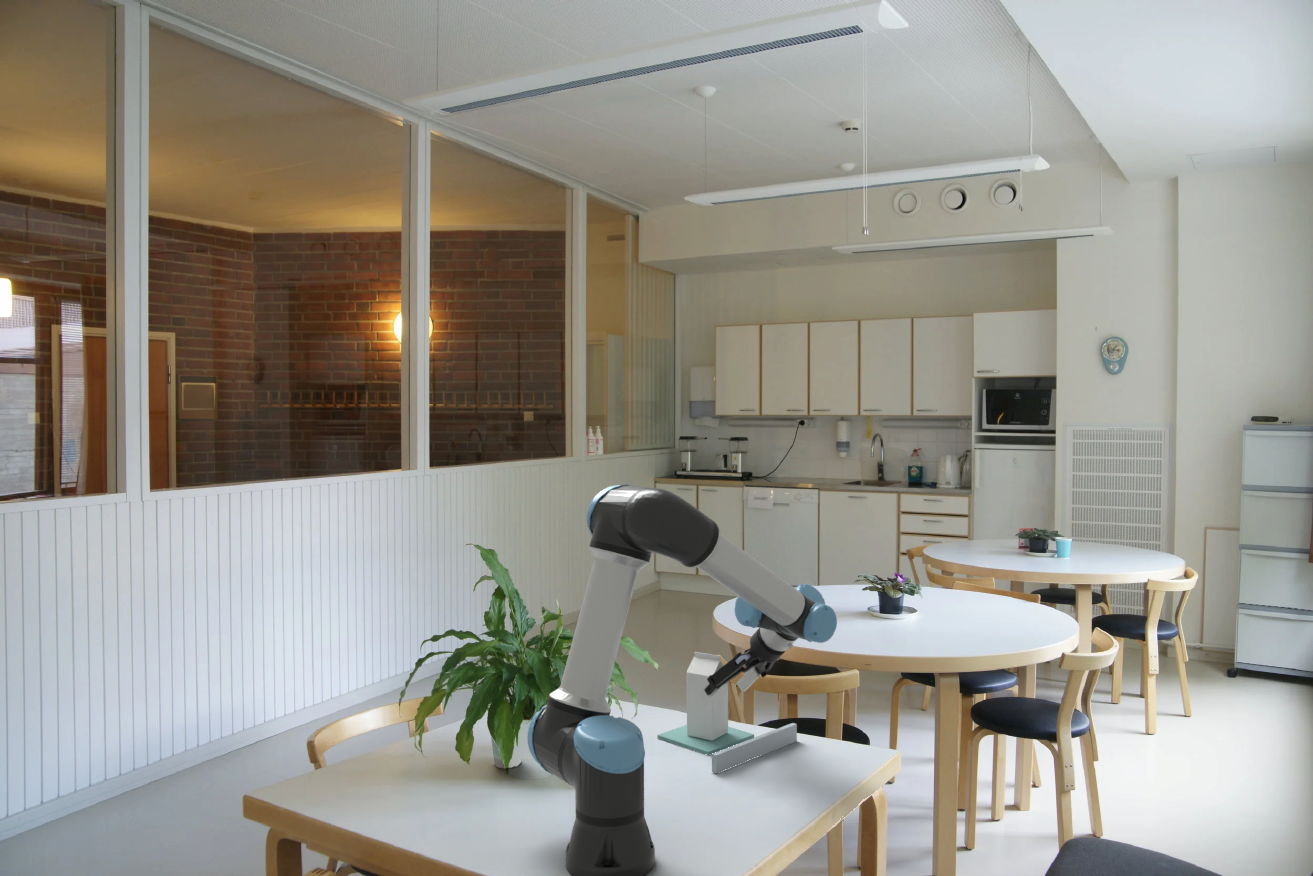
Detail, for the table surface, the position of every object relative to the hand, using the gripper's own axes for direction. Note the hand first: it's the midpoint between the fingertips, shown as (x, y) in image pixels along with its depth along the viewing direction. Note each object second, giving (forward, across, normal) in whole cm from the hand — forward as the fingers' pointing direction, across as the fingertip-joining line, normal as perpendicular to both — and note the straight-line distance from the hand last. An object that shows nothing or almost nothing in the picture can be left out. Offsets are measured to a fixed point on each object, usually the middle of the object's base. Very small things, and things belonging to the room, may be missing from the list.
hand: (721, 693), depth 219 cm
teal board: (+12, 0, -5) cm, 12 cm away
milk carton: (+11, 0, -4) cm, 12 cm away
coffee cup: (+26, -42, +10) cm, 50 cm away
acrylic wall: (0, -1, -16) cm, 16 cm away
